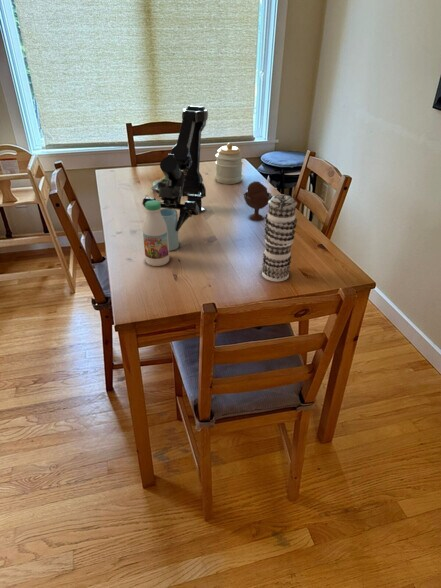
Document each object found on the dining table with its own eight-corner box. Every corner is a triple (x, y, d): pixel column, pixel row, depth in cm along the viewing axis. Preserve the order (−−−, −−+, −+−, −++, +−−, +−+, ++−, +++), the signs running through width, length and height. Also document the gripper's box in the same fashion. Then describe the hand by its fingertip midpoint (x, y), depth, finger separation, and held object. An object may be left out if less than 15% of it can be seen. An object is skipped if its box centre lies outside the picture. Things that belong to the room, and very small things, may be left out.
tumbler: (158, 242, 144) (155, 209, 137) (177, 240, 145) (175, 207, 138) (160, 251, 138) (157, 217, 131) (180, 249, 140) (178, 215, 133)
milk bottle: (146, 255, 136) (140, 198, 125) (169, 254, 136) (166, 197, 125) (145, 267, 129) (138, 207, 118) (169, 266, 130) (165, 207, 119)
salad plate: (148, 181, 197) (147, 171, 194) (185, 179, 200) (184, 169, 198) (151, 195, 181) (151, 185, 179) (191, 193, 185) (191, 183, 182)
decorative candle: (269, 284, 122) (277, 205, 108) (255, 270, 129) (260, 194, 115) (295, 278, 125) (306, 201, 111) (280, 264, 132) (288, 190, 118)
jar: (217, 175, 206) (217, 139, 196) (242, 176, 205) (244, 140, 195) (213, 183, 196) (213, 145, 186) (240, 185, 194) (242, 147, 184)
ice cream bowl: (268, 224, 157) (271, 186, 149) (240, 222, 159) (241, 184, 151) (271, 214, 166) (274, 177, 158) (244, 211, 168) (246, 175, 159)
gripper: (141, 173, 133) (132, 218, 130) (196, 178, 130) (188, 223, 127) (151, 188, 144) (143, 230, 141) (202, 193, 141) (195, 235, 138)
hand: (166, 229), depth 137 cm, fingers closed on tumbler, 7 cm apart
